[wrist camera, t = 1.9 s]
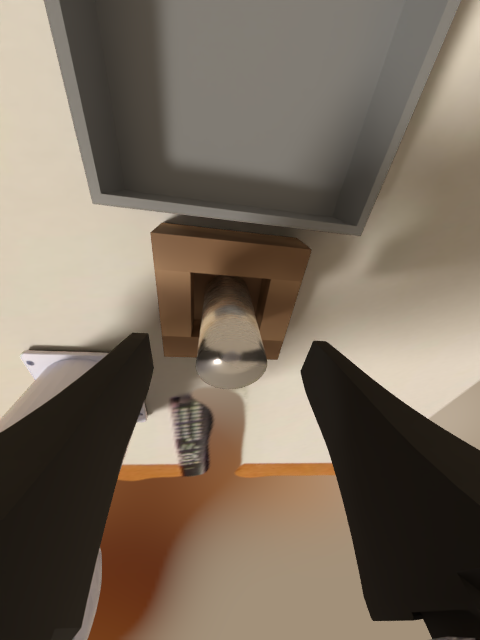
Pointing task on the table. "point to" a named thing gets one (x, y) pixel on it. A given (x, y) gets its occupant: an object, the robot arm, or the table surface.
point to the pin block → (224, 259)
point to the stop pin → (229, 336)
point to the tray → (245, 102)
